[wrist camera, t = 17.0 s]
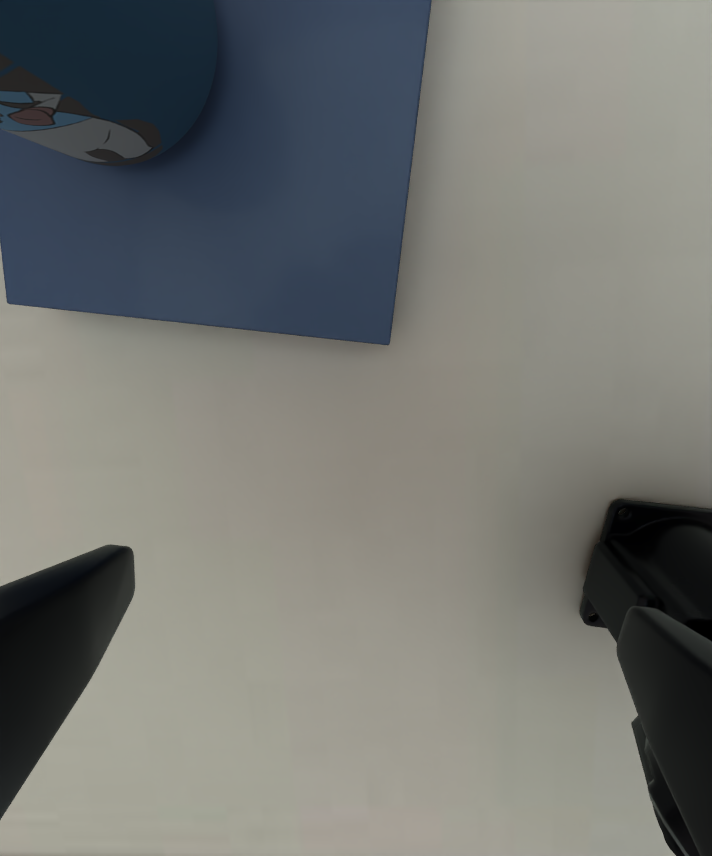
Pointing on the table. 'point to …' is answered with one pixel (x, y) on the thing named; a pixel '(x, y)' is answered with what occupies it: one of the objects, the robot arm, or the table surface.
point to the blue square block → (243, 185)
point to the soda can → (105, 74)
